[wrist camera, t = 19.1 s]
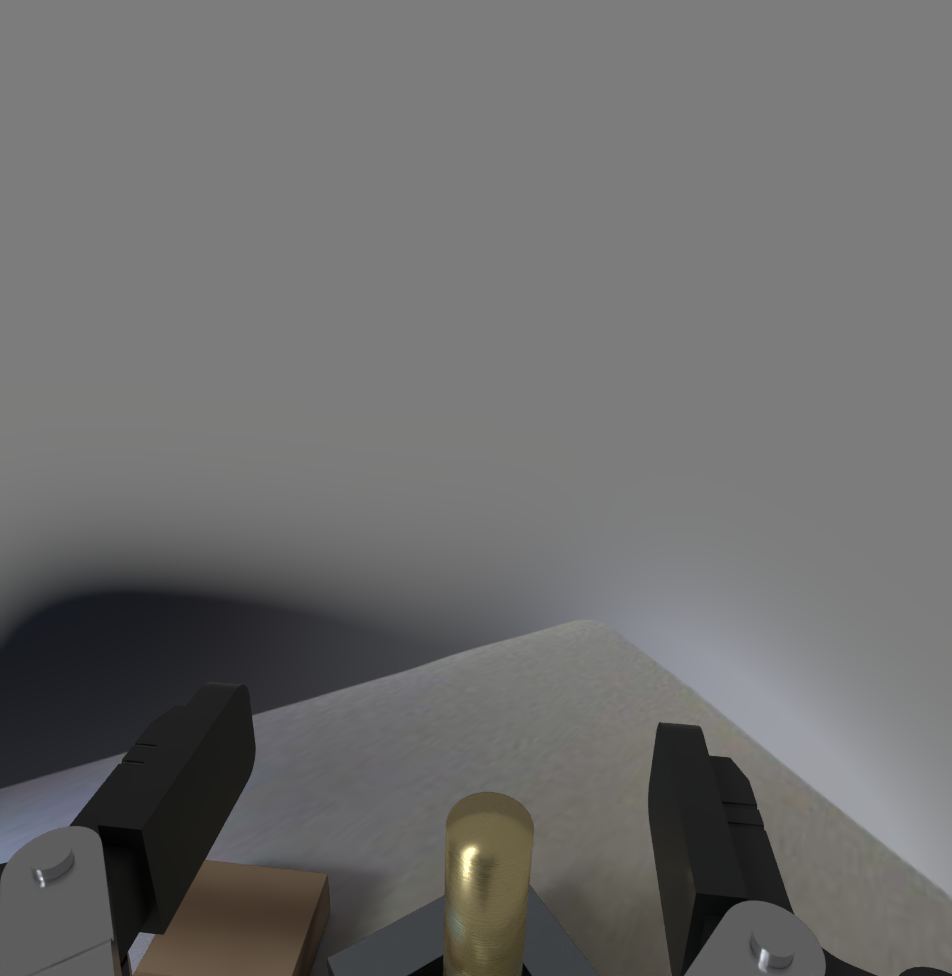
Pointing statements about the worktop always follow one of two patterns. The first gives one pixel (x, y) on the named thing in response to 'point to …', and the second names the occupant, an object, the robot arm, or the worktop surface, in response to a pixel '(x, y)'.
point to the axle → (486, 885)
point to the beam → (243, 924)
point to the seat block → (420, 946)
